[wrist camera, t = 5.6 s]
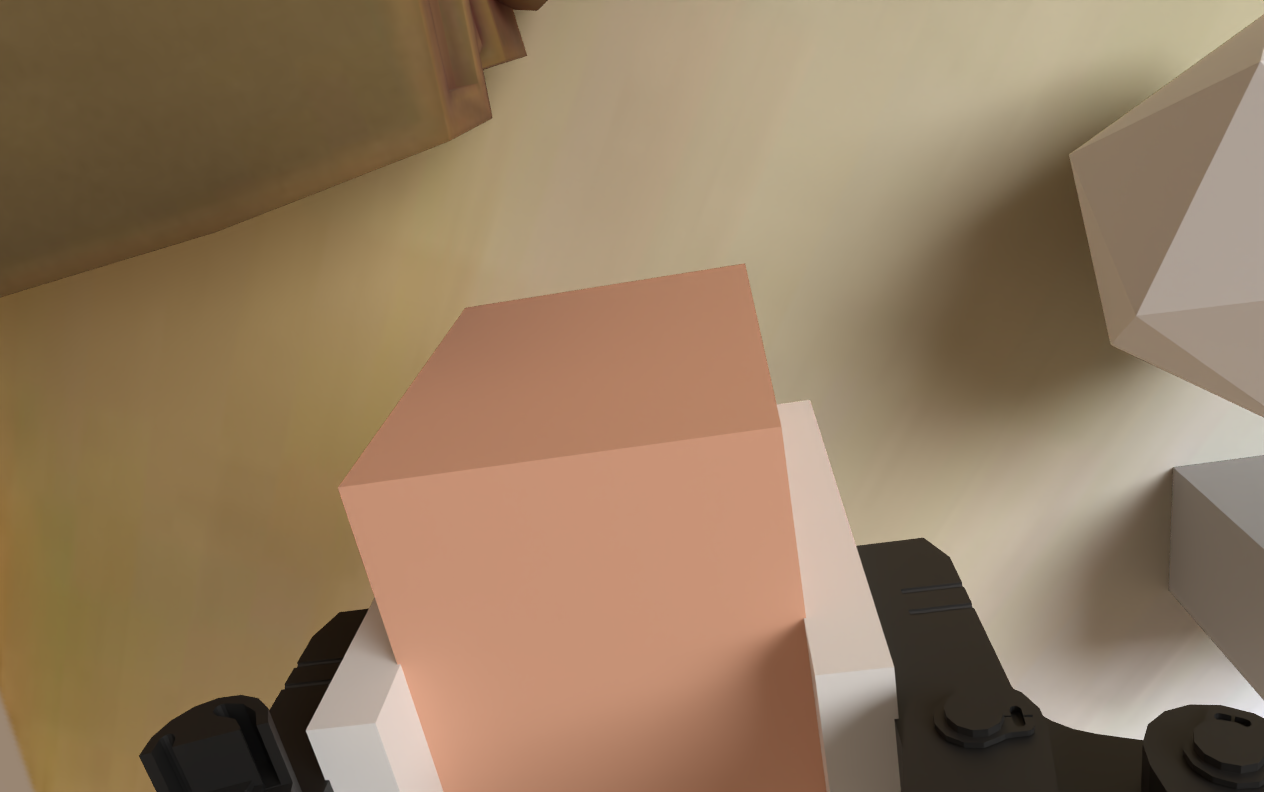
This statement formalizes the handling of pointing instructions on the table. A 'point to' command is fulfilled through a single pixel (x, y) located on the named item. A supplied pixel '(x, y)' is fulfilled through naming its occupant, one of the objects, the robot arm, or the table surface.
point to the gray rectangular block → (1222, 556)
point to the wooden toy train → (217, 112)
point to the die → (1186, 222)
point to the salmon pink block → (595, 547)
